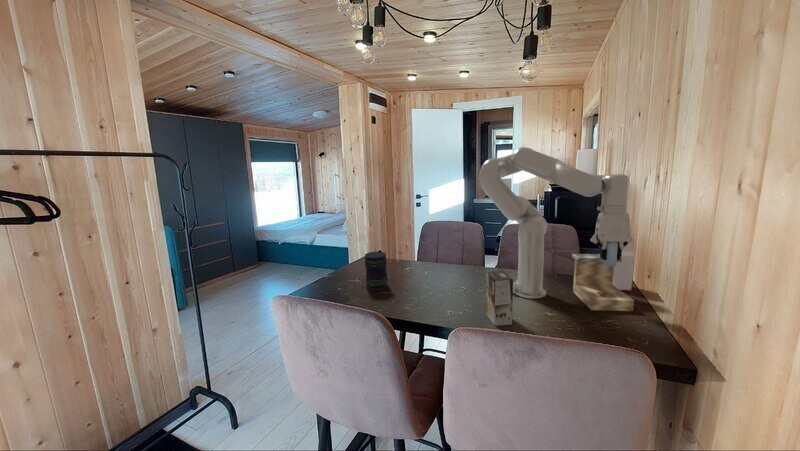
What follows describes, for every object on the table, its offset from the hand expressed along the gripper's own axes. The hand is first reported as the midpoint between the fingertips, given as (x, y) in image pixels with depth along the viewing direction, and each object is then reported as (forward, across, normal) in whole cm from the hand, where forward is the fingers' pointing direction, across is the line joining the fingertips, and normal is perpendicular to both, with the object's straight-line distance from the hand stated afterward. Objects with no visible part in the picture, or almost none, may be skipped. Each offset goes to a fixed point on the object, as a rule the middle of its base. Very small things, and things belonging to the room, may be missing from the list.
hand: (610, 258), depth 121 cm
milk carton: (+18, +12, +19) cm, 29 cm away
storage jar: (+17, -92, +15) cm, 94 cm away
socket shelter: (+18, 0, +4) cm, 18 cm away
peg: (+2, 0, 0) cm, 2 cm away
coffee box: (+18, -42, -15) cm, 48 cm away
